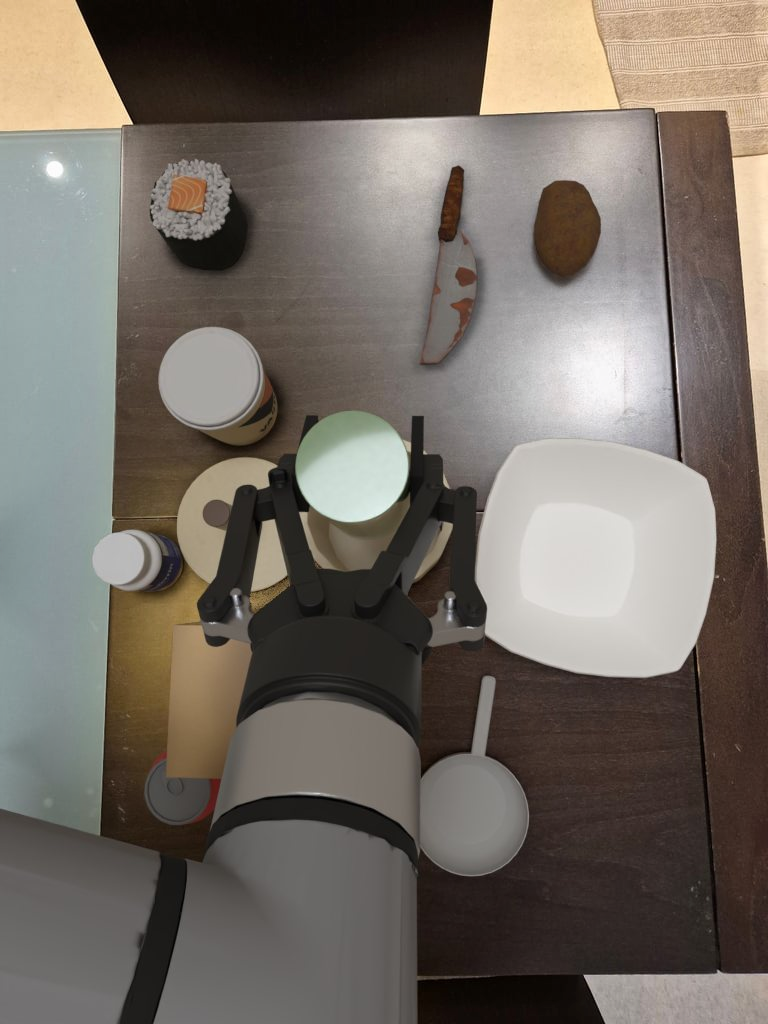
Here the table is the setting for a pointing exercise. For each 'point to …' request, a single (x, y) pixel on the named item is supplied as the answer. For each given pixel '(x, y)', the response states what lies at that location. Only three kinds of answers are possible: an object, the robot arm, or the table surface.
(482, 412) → the table surface
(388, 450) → the canister
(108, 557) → the pill bottle
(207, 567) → the lid
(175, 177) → the sushi
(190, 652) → the stand
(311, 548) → the pot
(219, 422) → the coffee cup
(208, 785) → the beer can
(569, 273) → the potato
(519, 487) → the bowl
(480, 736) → the small pan
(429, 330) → the kitchen knife
